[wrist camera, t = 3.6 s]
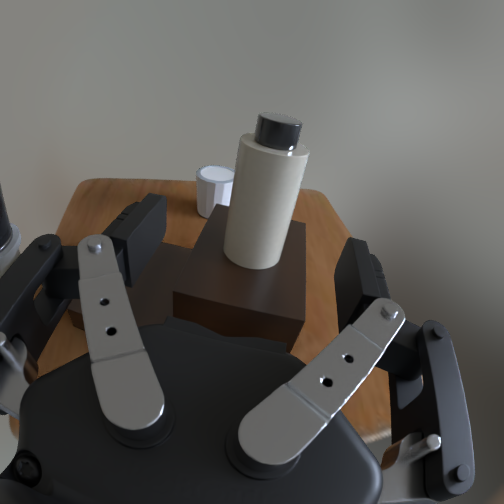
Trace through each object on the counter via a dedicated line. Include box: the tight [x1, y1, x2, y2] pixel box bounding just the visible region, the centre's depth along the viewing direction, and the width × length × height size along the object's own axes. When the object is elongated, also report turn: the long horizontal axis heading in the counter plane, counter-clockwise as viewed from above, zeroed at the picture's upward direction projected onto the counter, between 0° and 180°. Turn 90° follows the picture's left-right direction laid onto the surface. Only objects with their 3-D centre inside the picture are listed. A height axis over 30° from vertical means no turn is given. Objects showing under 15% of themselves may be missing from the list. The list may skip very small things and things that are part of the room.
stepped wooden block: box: [67, 203, 306, 354], centre depth 30 cm, size 22×14×10 cm, turn 82°
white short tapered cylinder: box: [196, 165, 235, 218], centre depth 49 cm, size 7×7×7 cm
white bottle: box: [223, 112, 309, 269], centre depth 24 cm, size 5×5×12 cm
